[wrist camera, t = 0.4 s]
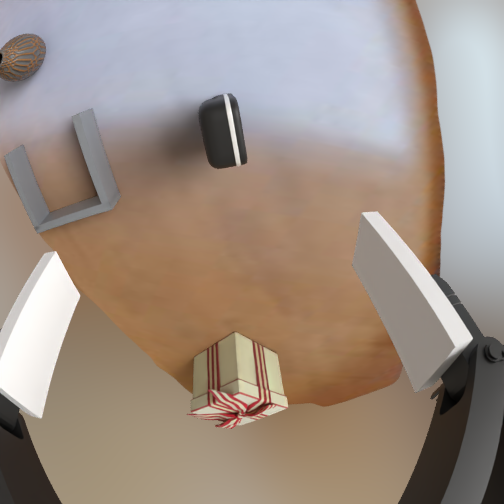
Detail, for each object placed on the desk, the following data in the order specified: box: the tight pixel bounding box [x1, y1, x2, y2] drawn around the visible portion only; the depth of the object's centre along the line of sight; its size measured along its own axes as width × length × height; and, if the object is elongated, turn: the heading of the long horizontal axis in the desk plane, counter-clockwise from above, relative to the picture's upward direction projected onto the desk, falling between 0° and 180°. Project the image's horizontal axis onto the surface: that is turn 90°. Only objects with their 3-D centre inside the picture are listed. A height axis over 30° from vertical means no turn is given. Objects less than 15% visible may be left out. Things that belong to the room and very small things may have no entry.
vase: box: [0, 34, 46, 82], centre depth 17 cm, size 7×7×9 cm
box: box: [4, 109, 121, 233], centre depth 30 cm, size 14×15×4 cm
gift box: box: [187, 332, 288, 429], centre depth 55 cm, size 17×18×17 cm
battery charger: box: [198, 93, 247, 169], centre depth 27 cm, size 7×4×11 cm, turn 8°
